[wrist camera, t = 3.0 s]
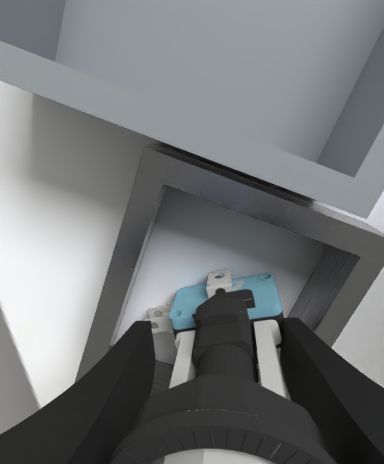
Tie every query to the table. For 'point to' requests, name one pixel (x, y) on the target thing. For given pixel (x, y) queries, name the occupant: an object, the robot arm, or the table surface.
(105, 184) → the table surface
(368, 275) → the collar
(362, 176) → the bin
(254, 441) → the push button
